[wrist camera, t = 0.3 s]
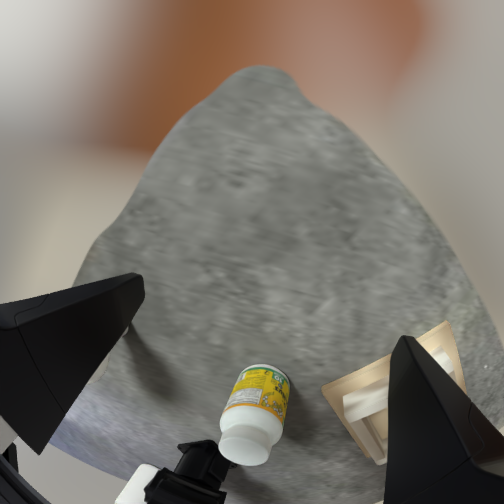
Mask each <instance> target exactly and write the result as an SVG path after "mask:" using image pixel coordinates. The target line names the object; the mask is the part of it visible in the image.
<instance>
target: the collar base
mask: <svg viewBox="0 0 504 504" xmlns="http://www.w3.org/2000/svg"><path fill="white" fill-rule="evenodd" d="M416 340H417V341H418V342H419V343H420V344H421V345H422V346H423V348H424V349H425V350H426V351H427V352H428V353H429V354H430V355H431V356H432V357H433V358H434V359H435V360H436V361H437V362H438V364H439V365H440V366H441V367H442V368H443V369H444V370H445V371H446V372H447V373H448V375H449V376H450V377H451V378H452V379H453V380H454V381H455V382H456V383H457V385H458V386H459V387H460V388H461V389H462V390H463V391H464V393H465V394H466V395H467V393H466V387H465V382H464V377H463V372H462V368H461V363H460V359H459V355H458V351H457V347H456V343H455V339H454V336H453V332H452V329H451V325H450V324H449V322H448V321H447V320H445V321H444V322H442V323H441V324H439V325H438V326H436V327H435V328H433V329H431V330H430V331H428V332H427V333H425V334H423V335H422V336H420V337H419V338H417V339H416ZM391 354H392V353H390V354H389V355H387V356H385V357H383V358H381V359H379V360H377V361H375V362H373V363H371V364H369V365H367V366H365V367H363V368H361V369H359V370H357V371H355V372H353V373H351V374H348V375H346V376H344V377H342V378H340V379H337V380H335V381H333V382H330V383H328V384H326V385H323V386H322V394H323V395H324V397H325V398H326V399H327V401H328V402H329V404H330V405H331V407H332V408H333V410H334V411H335V413H336V414H337V415H338V417H339V418H340V420H341V421H342V423H343V424H344V426H345V427H346V428H347V430H348V431H349V433H350V434H351V436H352V437H353V439H354V440H355V441H356V443H357V444H358V446H359V447H360V449H361V450H362V451H363V453H364V454H365V456H366V457H367V458H369V457H372V458H373V459H374V461H375V462H376V464H377V465H378V466H379V465H382V464H384V463H387V450H388V388H389V373H390V358H391Z"/></svg>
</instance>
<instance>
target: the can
mask: <svg viewBox="0 0 504 504" xmlns="http://www.w3.org/2000/svg"><path fill="white" fill-rule="evenodd" d="M158 470H161V469H160V468H158V467H156V466H153V465H150V464H141V465H140V466H139V467H138V469H137V470H136V472H135V473H134V475H133V476H132V477H131V479H130V480H129V482H128V483H127V485H126V486H125V488H124V489H123V490H122V492H121V494H120V495H119V496H118V497H117V499H116V501H115V504H147V503H146V502H144V498H145V492H144V488H145V486H146V485H147V484H148V483H149V482H150V481H151V480H152V479H153V478H154V476H155V474H156V473H157V471H158Z"/></svg>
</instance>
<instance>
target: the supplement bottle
mask: <svg viewBox="0 0 504 504" xmlns="http://www.w3.org/2000/svg"><path fill="white" fill-rule="evenodd" d="M289 391H290V384H289V380H288V378H287V377H286V375H285V374H284V373H283V372H281V371H280V370H279V369H277V368H275V367H273V366H270V365H266V364H257V365H252V366H249V367H248V368H246V369H244V370H243V371H242V372H241V374H240V375H239V377H238V379H237V382H236V384H235V386H234V389H233V391H232V393H231V396H230V398H229V400H228V402H227V405H226V407H225V409H224V411H223V414H222V416H221V419H220V428H221V431H222V433H223V434H222V437H221V440H220V442H219V451H220V453H221V454H222V455H223V456H224V457H225V458H227V459H228V460H230V461H232V462H234V463H237V464H241V465H247V466H255V465H260V464H263V463H264V462H266V461H267V460H268V457H269V454H270V451H271V447H272V446H273V445H274V444H276V443H277V442H278V440H279V439H280V438H281V435H282V432H283V426H284V421H285V415H286V409H287V403H288V397H289Z"/></svg>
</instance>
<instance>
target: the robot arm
mask: <svg viewBox="0 0 504 504" xmlns="http://www.w3.org/2000/svg"><path fill="white" fill-rule="evenodd" d="M144 298H145V290H144V281H143V277H142V276H141V275H140V274H136V273H128V274H124V275H120V276H116V277H112V278H108V279H104V280H100V281H96V282H92V283H88V284H84V285H80V286H76V287H72V288H68V289H65V290H61V291H57V292H53V293H50V294H45V295H41V296H37V297H33V298H29V299H24V300H19V301H14V302H9V303H4V304H0V504H51V503H50V502H49V501H47V500H46V499H45V498H44V497H43V496H42V495H41V494H39V493H38V492H37V491H36V490H35V489H34V488H33V487H32V486H30V484H29V483H28V482H27V481H25V479H24V478H23V477H22V476H21V475H20V474H19V473H18V462H17V450H16V445H15V444H14V443H13V441H14V440H15V439H16V437H17V436H19V437H20V438H21V439H22V440H23V441H24V442H25V443H26V444H27V445H28V446H29V447H30V448H31V449H32V450H33V451H34V452H36V453H37V454H38V455H40V454H41V453H42V451H43V449H44V448H45V446H46V445H47V443H48V442H49V440H50V438H51V437H52V435H53V434H54V432H55V430H56V429H57V427H58V426H59V424H60V423H61V421H62V420H63V418H64V417H65V415H66V413H67V412H68V410H69V409H70V407H71V406H72V404H73V403H74V401H75V400H76V399H77V397H78V396H79V394H80V393H81V391H82V390H83V388H84V387H85V385H86V384H87V383H88V381H89V380H90V378H91V377H92V376H93V374H94V373H95V371H96V370H97V369H98V367H99V366H100V364H101V363H102V362H103V360H104V359H105V357H106V356H107V355H108V353H109V352H110V351H111V349H112V348H113V347H114V345H115V344H116V343H117V341H118V340H119V339H120V337H121V336H122V335H123V333H124V332H125V330H126V329H127V327H128V325H129V324H130V322H131V320H132V319H133V317H134V316H135V314H136V312H137V311H138V309H139V307H140V306H141V304H142V303H143V301H144ZM177 448H178V449H179V450H180V451H181V452H182V453H183V456H182V458H181V459H180V461H179V463H178V465H177V466H176V468H175V470H174V472H172V471H170V470H168V469H167V468H165V467H164V468H163V469H162V470H158V471H157V473H156V474H155V476H154V478H153V479H152V480H151V481H150V482H149V483H148V484H147V485H146V486H145V488H144V492H145V498H144V502H146V503H147V504H224V501H225V498H226V495H227V492H224V491H223V492H222V491H219V488H220V486H221V483H222V482H224V480H225V477H226V474H227V472H228V469H232V468H236V467H237V464H236V463H234V462H232V461H230V460H228V459H227V458H225V457H224V456H223V455H222V454H221V453H220V451H219V447H218V446H217V445H216V444H215V443H214V442H213V441H211V440H204V441H198V442H191V443H185V444H179V445H178V446H177ZM383 504H504V436H503V435H502V434H501V433H500V432H499V431H498V430H497V429H496V428H495V427H494V426H493V425H492V424H491V422H490V421H489V420H488V419H487V418H486V417H485V416H484V415H483V414H482V412H481V411H480V410H479V409H478V408H477V407H476V405H475V404H474V403H473V402H471V400H470V398H469V397H468V396H467V395H466V394H465V393H464V391H463V390H462V389H461V388H460V387H459V386H458V385H457V383H456V382H455V381H454V380H453V379H452V378H451V377H450V376H449V375H448V373H447V372H446V371H445V370H444V369H443V368H442V367H441V366H440V365H439V364H438V362H437V361H436V360H435V359H434V358H433V357H432V356H431V355H430V354H429V353H428V352H427V351H426V350H425V349H424V348H423V346H422V345H421V344H420V343H419V342H418V341H417V340H416V339H415V338H414V337H412V336H406V335H403V336H401V337H400V338H399V340H398V342H397V344H396V346H395V348H394V350H393V352H392V354H391V358H390V373H389V388H388V450H387V469H386V482H385V493H384V502H383Z"/></svg>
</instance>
